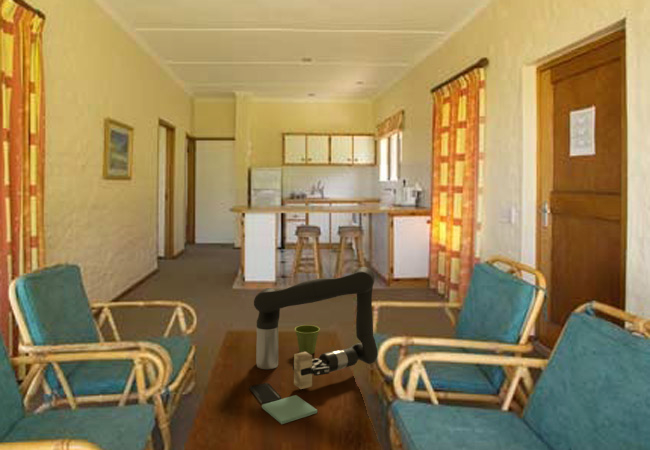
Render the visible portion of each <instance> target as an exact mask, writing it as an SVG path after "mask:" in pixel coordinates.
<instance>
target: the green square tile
mask: <svg viewBox="0 0 650 450" xmlns="http://www.w3.org/2000/svg"><path fill="white" fill-rule="evenodd" d="M261 409H263V410H264V411H265V412H266V413H267V414H268V415H270V416H271V417H272V418H273V419H275V420H276V421H277V422H278V423H279V424H280V425H284V424H287V423H291V422H293V421H296V420H299V419H302V418H306V417H309V416H311V415H316V414H317V413H318V409H317V408H315V407H314V406H313V405H311V404H310V403H308V402H307V401H305V400H304V399H302V398H301V397H300V396H298V395H297V394H295V395H291V396H288V397H283V398H281V399H280V400H277V401H271V402H270V403H267V404H261Z"/></svg>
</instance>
